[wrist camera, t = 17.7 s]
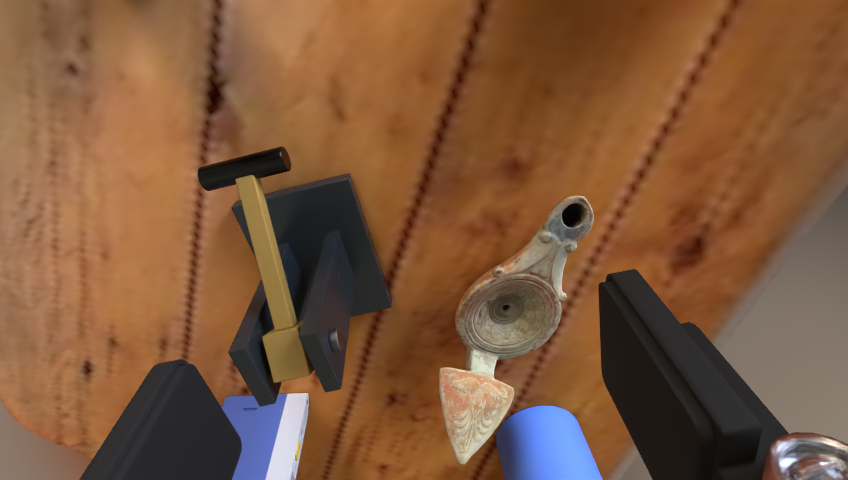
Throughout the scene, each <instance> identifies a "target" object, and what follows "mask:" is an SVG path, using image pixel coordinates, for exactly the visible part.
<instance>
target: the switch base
mask: <svg viewBox="0 0 848 480" xmlns="http://www.w3.org/2000/svg"><path fill="white" fill-rule="evenodd" d="M264 196H265V200H266V204H267V208H268V211H269V215H270V219H271V223H272V227H273V231H274V234H275V238H276V242H277V246H278V250H279V254H280V257H281V261H282V265H283V269H284V273H285V277H286V281H287V284H288V288H289V292H290V296H291V300H292V304H293V307H294V311H295V315H296V319H297V321H302V320H303V322H302V325H301V329H300V333H299V338H300V340H301V342H302V344H303V347H304V349H305V351H306V353H307V355H308V357H309V359H310V361H311V363H312V365H313V368H314V370H315V372H316V374H317V376H318V378H319V380H320V382H321V384H322V386H323V389H324V391H325V392H330V391H334V390H339V389H341V387H342V379H343V371H344V363H345V355H346V347H347V339H348V331H349V323H350V317H352V316H356V315H361V314H365V313H369V312H374V311H378V310H382V309H387V308H391V307H392V299H391V296H390V293H389V290H388V287H387V284H386V281H385V278H384V275H383V272H382V269H381V266H380V263H379V260H378V257H377V254H376V251H375V248H374V245H373V242H372V239H371V236H370V233H369V230H368V227H367V224H366V221H365V218H364V215H363V212H362V209H361V206H360V203H359V200H358V197H357V194H356V191H355V188H354V185H353V182H352V179H351V176H350V173H348V174H344V175H340V176H336V177H332V178H328V179H324V180H320V181H316V182H312V183H308V184H304V185H300V186H296V187H292V188H288V189H284V190H280V191H276V192H272V193H268V194H264ZM232 210H233V212H234V214H235V216H236V218H237V221H238V223H239V225H240V227H241V229H242V231H243V233H244V235H245V237H246V239H247V241H248V243H249V245H250V247H251V250H252V252H253V254H254V256H255V252H254V248H253V245H252V241H251V237H250V233H249V229H248V226H247V222H246V218H245V214H244V210H243V207H242V203H241V200H239V201H236V202H235V203H234V205H233V206H232ZM255 258H256V256H255ZM272 329H274V324H273V320H272V317H271V313H270V309H269V305H268V301H267V298H266V294H265V290H264V286H263V282H262V279H261V281H260V283H259V285H258V288H257V290H256V292H255V294H254V296H253V299H252V301H251V303H250V305H249V307H248V310H247V312H246V314H245V316H244V318H243V321H242V323H241V325H240V327H239V330H238V332H237V334H236V336H235V338H234V341H233V343H232V345H231V347H230V349H229V352H228V353H229V355H230V357H231V358H232V360H233V362H234V363H235V365H236V367H237V368H238V370H239V372H240V374H241V375H242V377H243V379H244V380H245V382H246V384H247V386H248V387H249V389H250V391H251V392H252V394H253V396H254V398H255V399H256V401H257V403H258V404H259V406H260V407H262V406H267V405H271V404H275V403H276V400H277V397H278V393H279V389H280V386H281V382H277V383H274V381H273V377H272V374H271V370H270V366H269V362H268V359H267V355H266V351H265V347H264V344H263V340H262V337H263V336H264V335H265V334H267V333H268V332H270V331H271V330H272Z"/></svg>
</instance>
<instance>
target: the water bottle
mask: <svg viewBox="0 0 848 480" xmlns="http://www.w3.org/2000/svg"><path fill="white" fill-rule="evenodd" d="M496 444H497V449H498V453H499V457H500V462H501V466H502V470H503V475H504V479H505V480H603V479H602V477H601V475H600V472H599V470H598V468H597V465H596V463H595V461H594V458H593V456H592V454H591V452H590V449H589V447H588V445H587V442H586V440H585V438H584V435H583V433H582V431H581V428H580V426H579V424H578V422H577V420H576V418H575V417H574V416H573V415H572V414H571V413H570V412H568V411H567V410H565V409H562V408H559V407H555V406H536V407H531V408H527V409H524V410H522V411H519V412H517V413H515V414H514V415H512V416H511V417H509V418H508V419H507V420H506V421H505V422H504V423H503V424H502V425H501V426H500V428H499V430H498V432H497V436H496Z"/></svg>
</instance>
